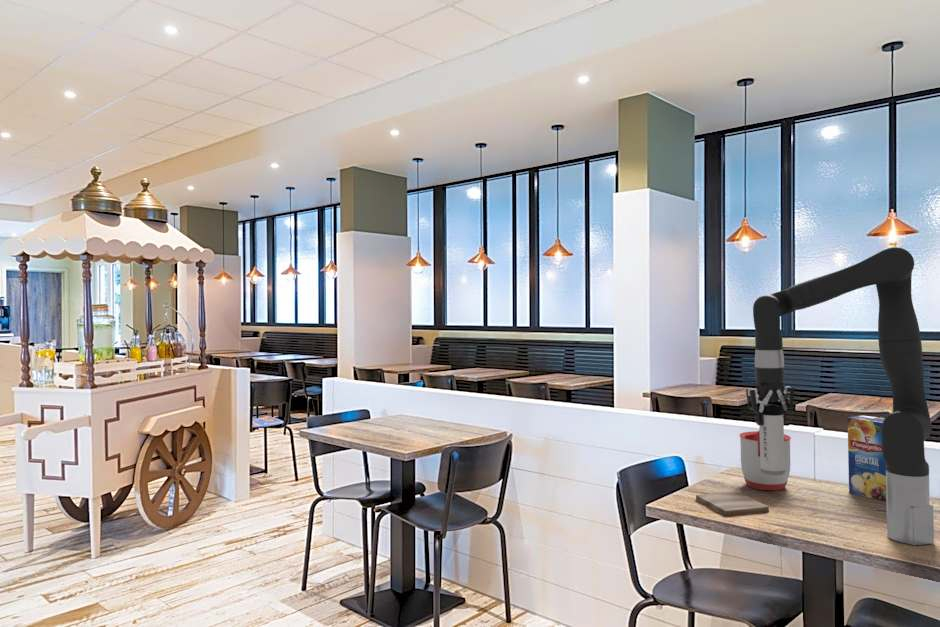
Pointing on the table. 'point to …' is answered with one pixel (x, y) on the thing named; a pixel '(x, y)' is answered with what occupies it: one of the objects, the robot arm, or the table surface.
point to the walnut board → (732, 503)
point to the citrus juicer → (752, 463)
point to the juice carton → (866, 457)
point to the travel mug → (772, 440)
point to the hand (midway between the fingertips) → (771, 424)
